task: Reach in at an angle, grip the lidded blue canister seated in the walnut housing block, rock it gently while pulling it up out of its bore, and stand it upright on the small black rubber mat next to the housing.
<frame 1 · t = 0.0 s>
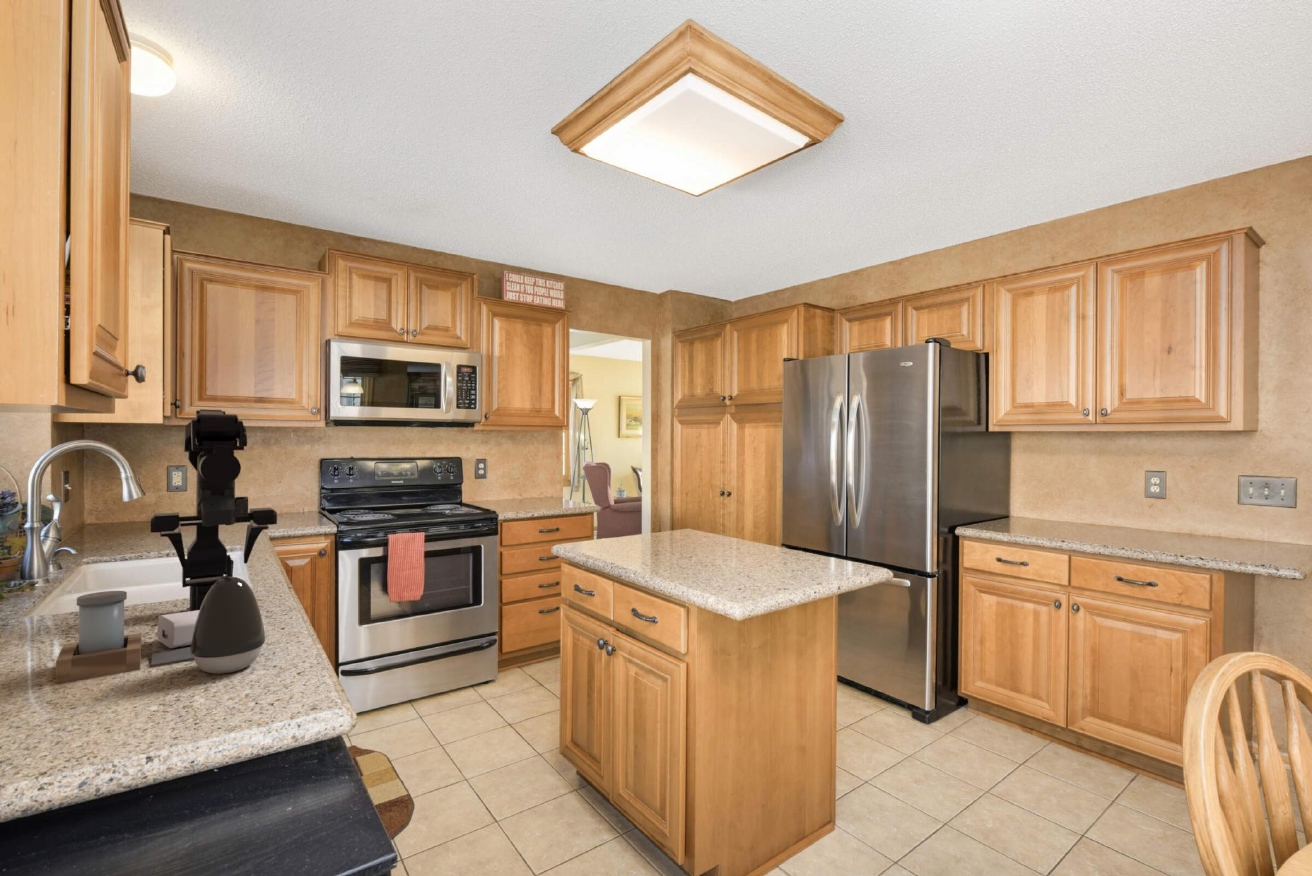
hand: (215, 566, 114), 15 cm above the worktop, tool pointing down, fingers open, 9 cm apart
charger: (212, 637, 118), on the worktop, touching rubber mat
rubber mat: (177, 656, 108), on the worktop
dark egg-shaped device: (228, 669, 103), on the worktop
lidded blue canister: (101, 631, 103), in the housing block
housing block: (101, 667, 103), on the worktop
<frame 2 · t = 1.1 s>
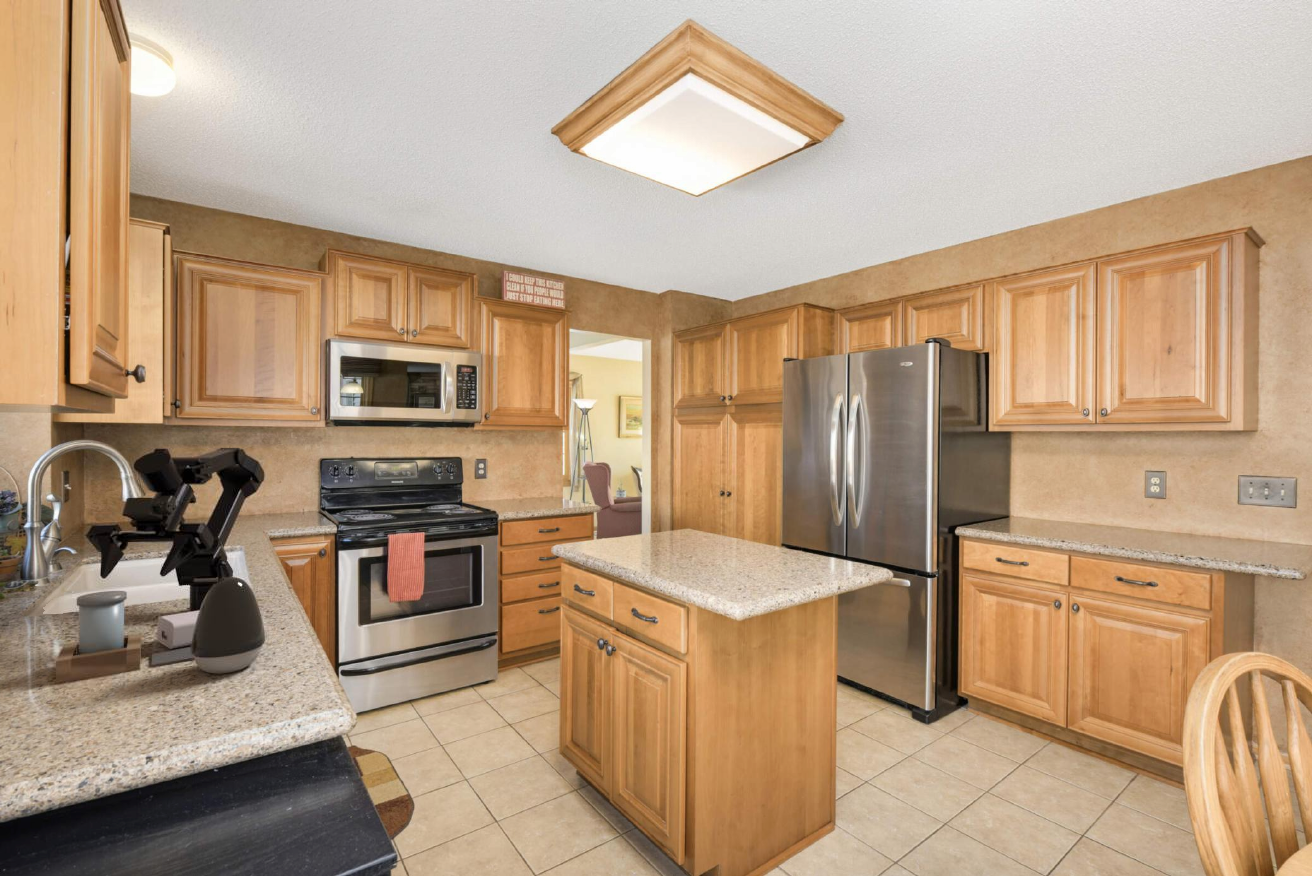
hand: (132, 576, 111), 13 cm above the worktop, tool tilted 45°, fingers open, 9 cm apart
nothing on the worktop moved.
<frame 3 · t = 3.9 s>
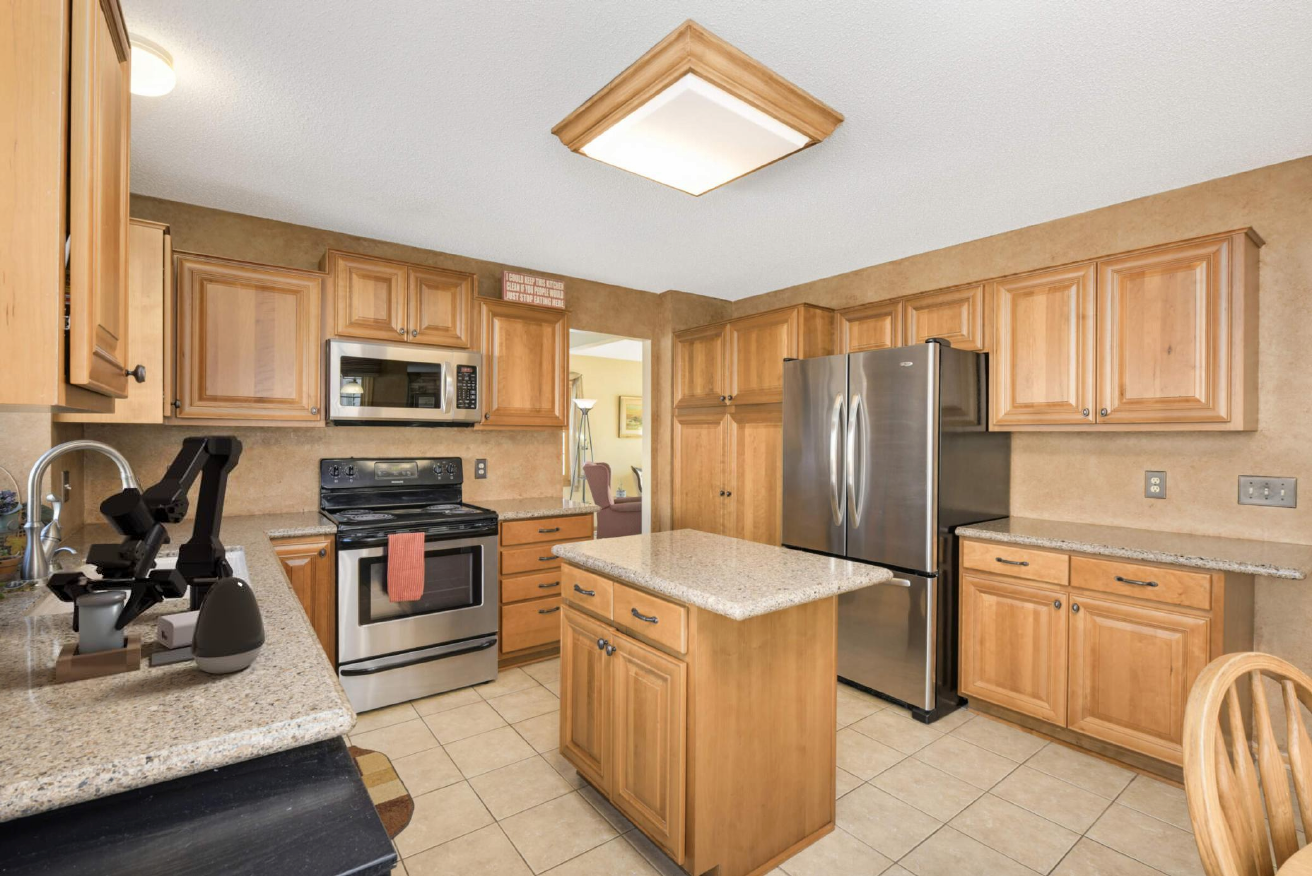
hand: (96, 630, 101), 7 cm above the worktop, tool tilted 45°, fingers closed on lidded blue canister, 6 cm apart
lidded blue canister: (101, 631, 103), in the housing block, touching gripper
everything else where it was.
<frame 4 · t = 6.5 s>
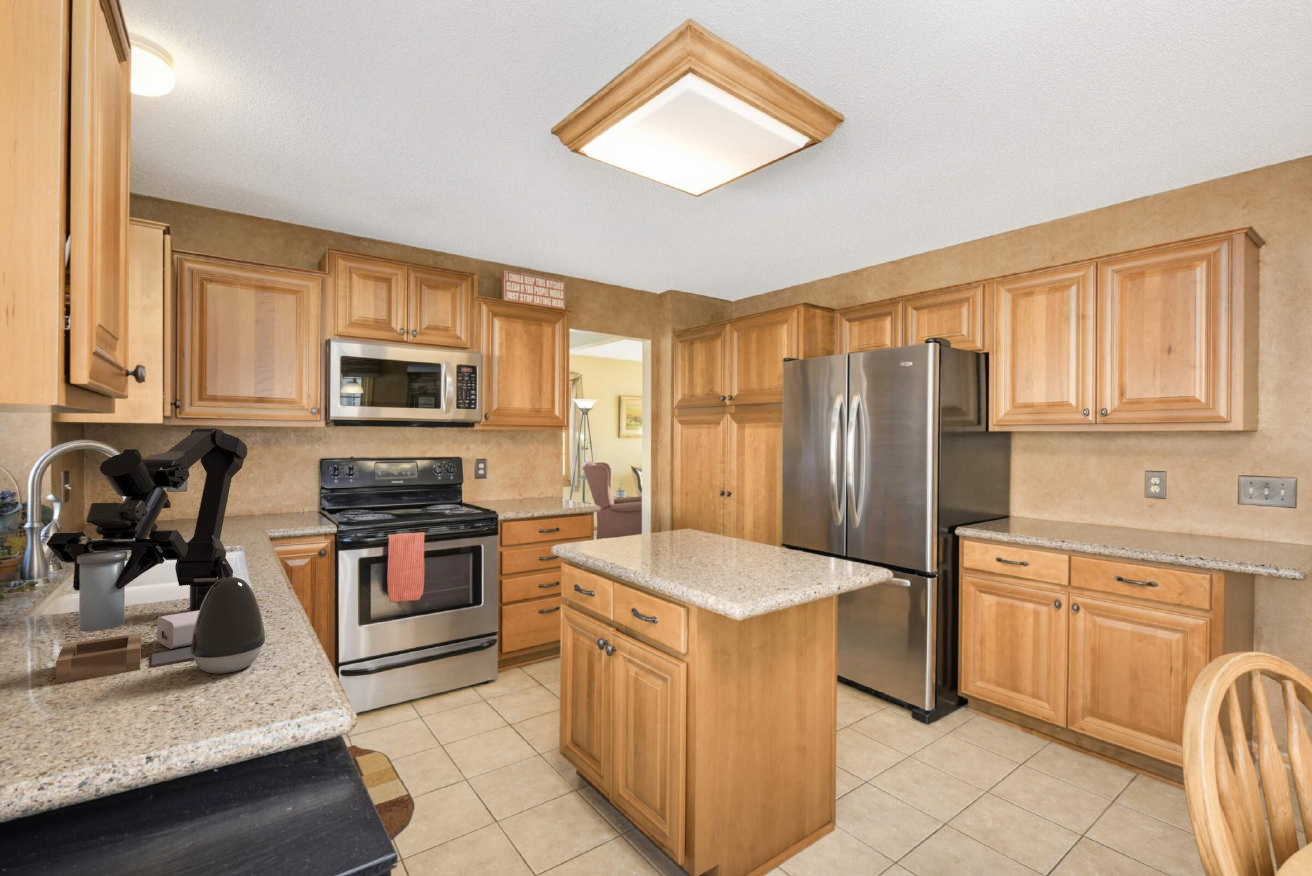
hand: (96, 588, 101), 13 cm above the worktop, tool tilted 45°, fingers closed on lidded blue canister, 6 cm apart
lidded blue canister: (102, 590, 103), point 13 cm above the worktop, touching gripper
everything else where it was.
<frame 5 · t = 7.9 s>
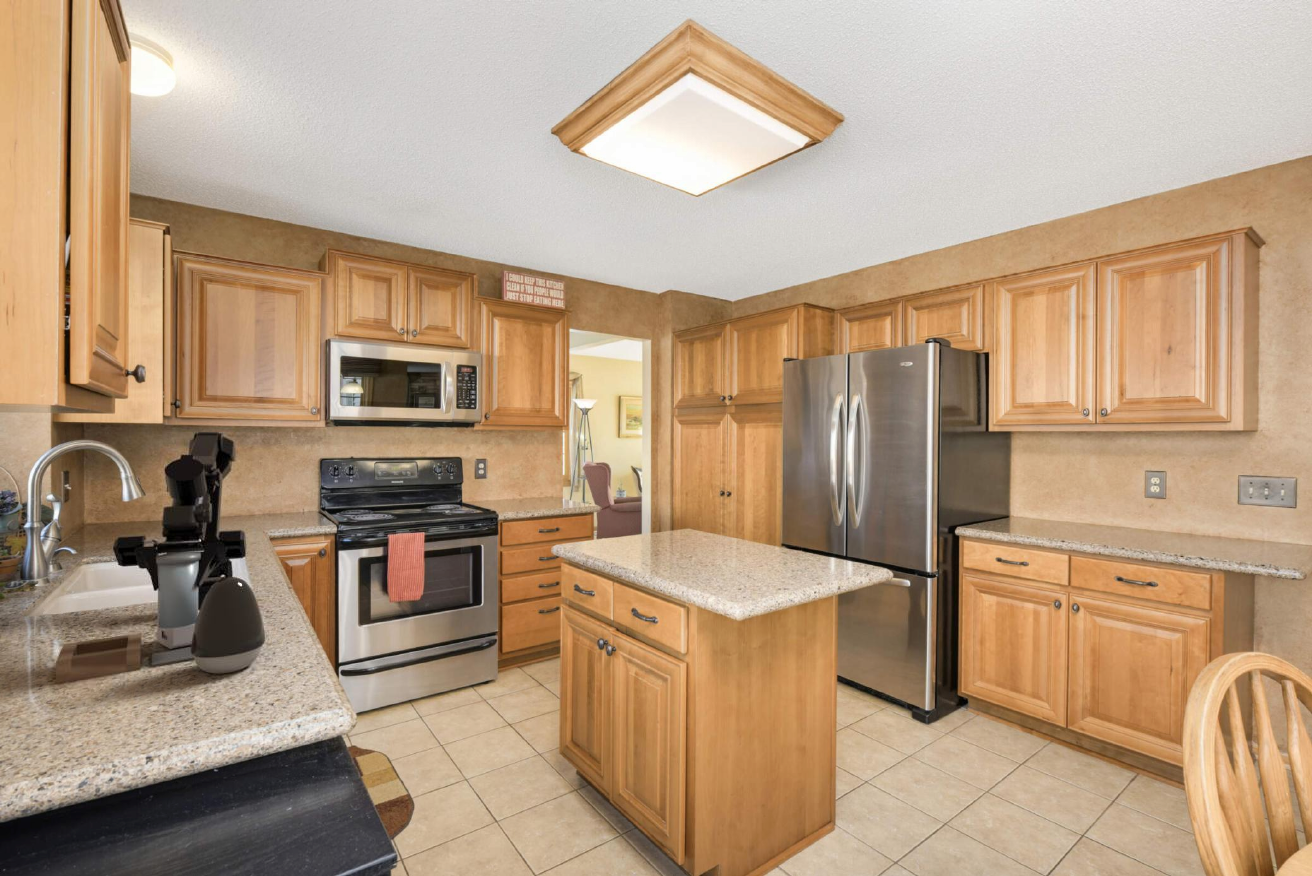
hand: (176, 587, 107), 12 cm above the worktop, tool tilted 45°, fingers closed on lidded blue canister, 6 cm apart
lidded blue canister: (178, 589, 108), point 12 cm above the worktop, touching gripper
everything else where it was.
when the fingers open (8 cm above the worktop, at t = 9.2 s): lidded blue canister stays where it is, resting on rubber mat.
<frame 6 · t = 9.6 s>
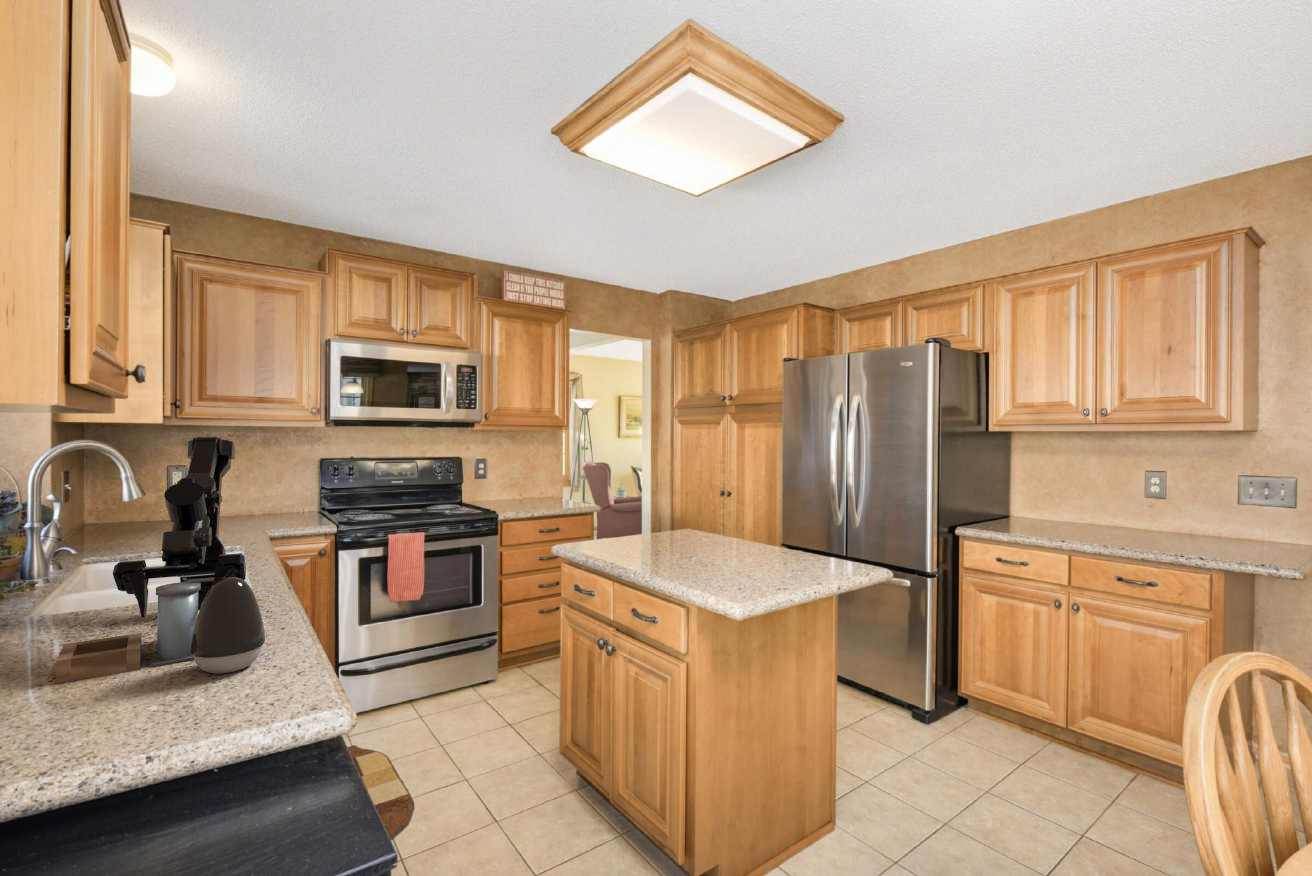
hand: (176, 612, 107), 8 cm above the worktop, tool tilted 45°, fingers open, 9 cm apart
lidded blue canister: (178, 620, 108), on the rubber mat
everything else where it was.
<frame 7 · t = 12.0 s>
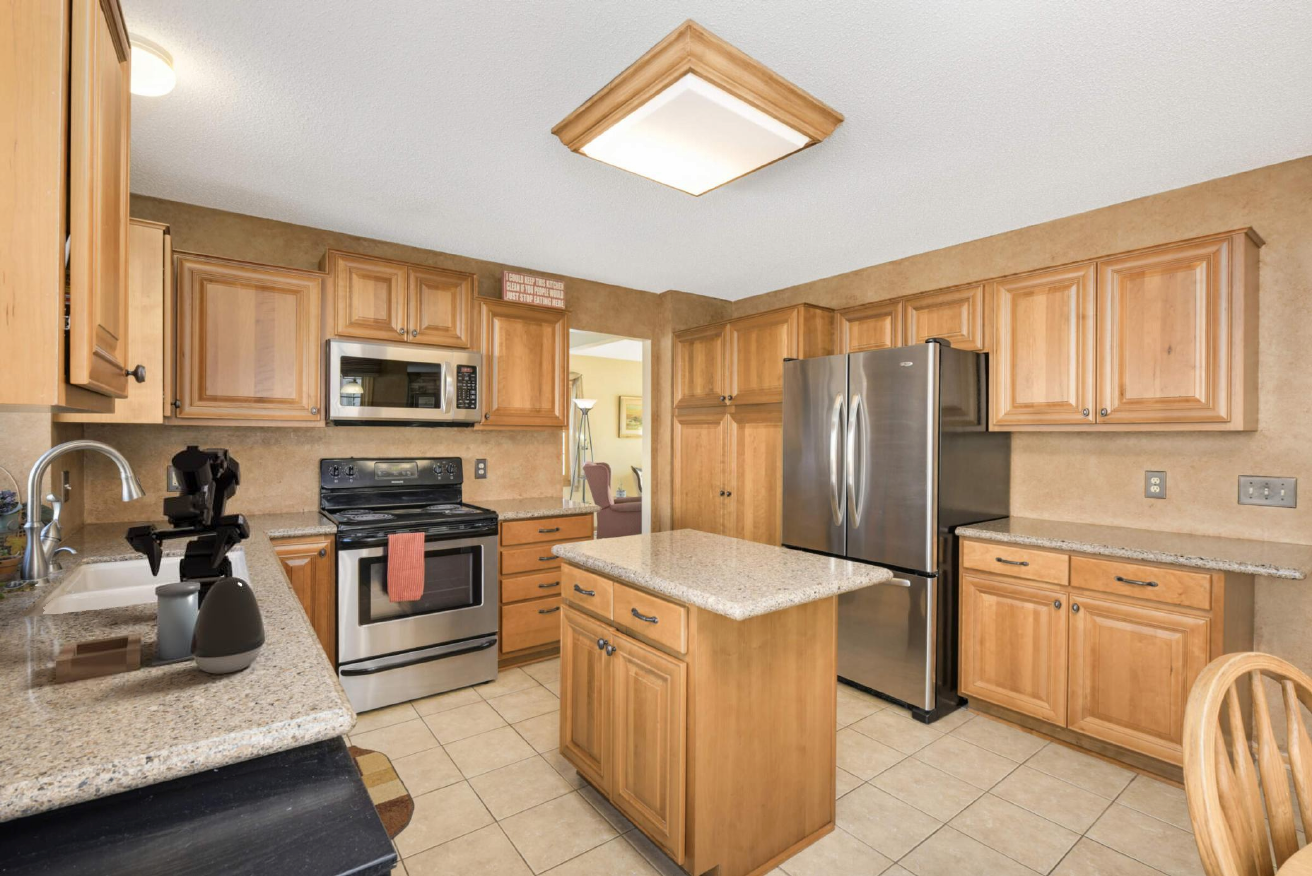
hand: (184, 571, 115), 13 cm above the worktop, tool tilted 40°, fingers open, 9 cm apart
nothing on the worktop moved.
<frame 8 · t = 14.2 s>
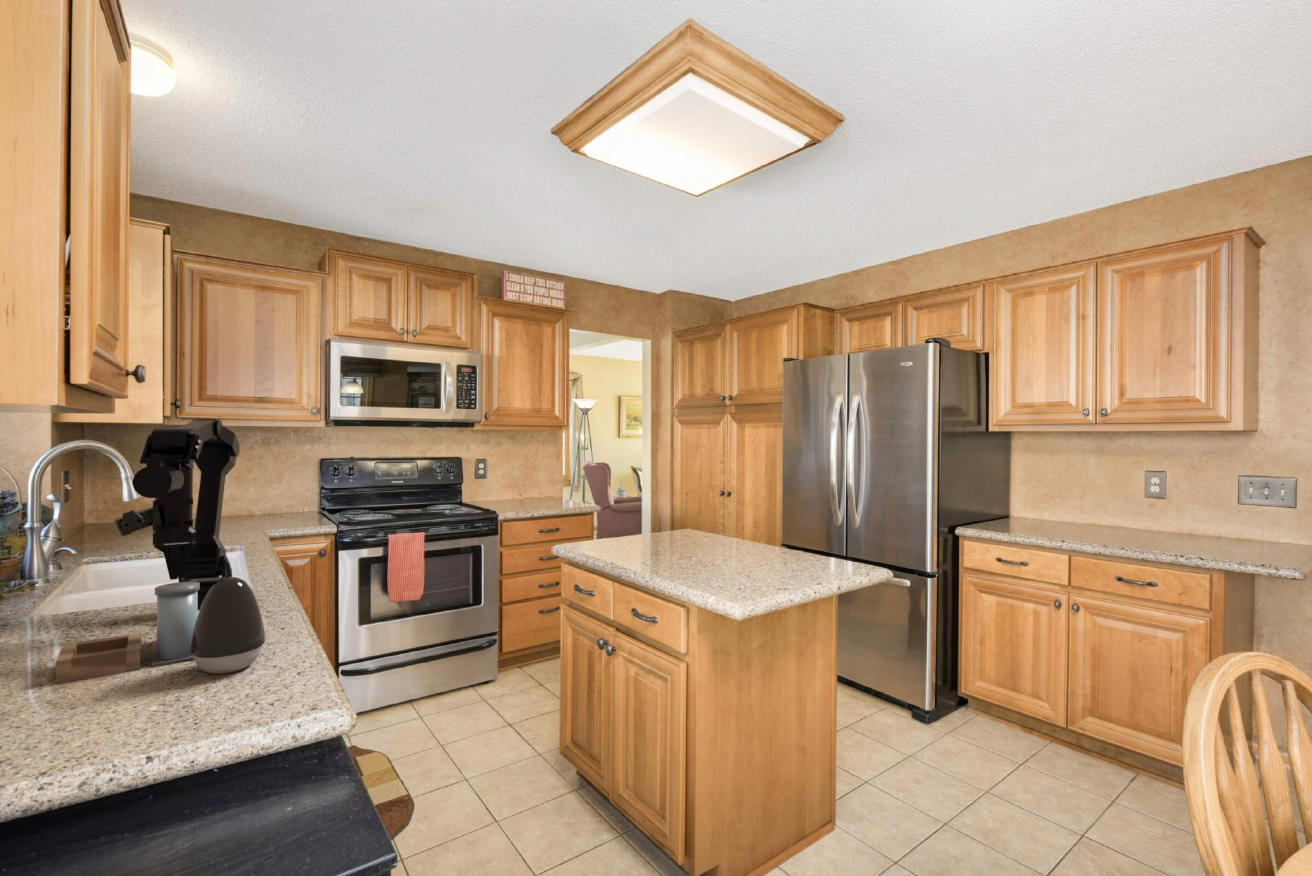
hand: (173, 575, 118), 12 cm above the worktop, tool pointing down, fingers open, 9 cm apart
nothing on the worktop moved.
at the end: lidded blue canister 0.1 cm off-centre on the rubber mat, point 6.4 cm above the rubber mat's base; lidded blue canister tilted 1°; the gripper is holding nothing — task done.
